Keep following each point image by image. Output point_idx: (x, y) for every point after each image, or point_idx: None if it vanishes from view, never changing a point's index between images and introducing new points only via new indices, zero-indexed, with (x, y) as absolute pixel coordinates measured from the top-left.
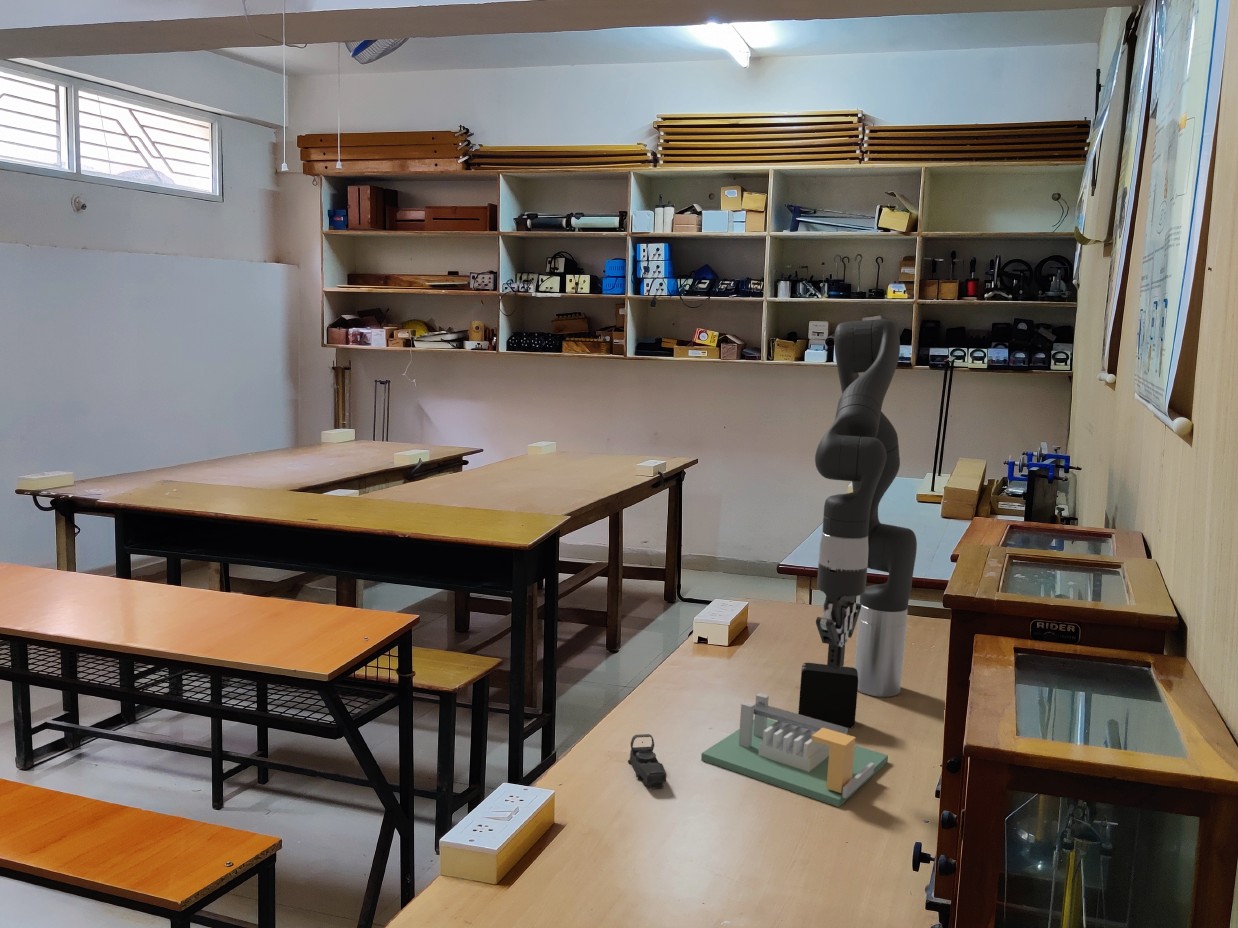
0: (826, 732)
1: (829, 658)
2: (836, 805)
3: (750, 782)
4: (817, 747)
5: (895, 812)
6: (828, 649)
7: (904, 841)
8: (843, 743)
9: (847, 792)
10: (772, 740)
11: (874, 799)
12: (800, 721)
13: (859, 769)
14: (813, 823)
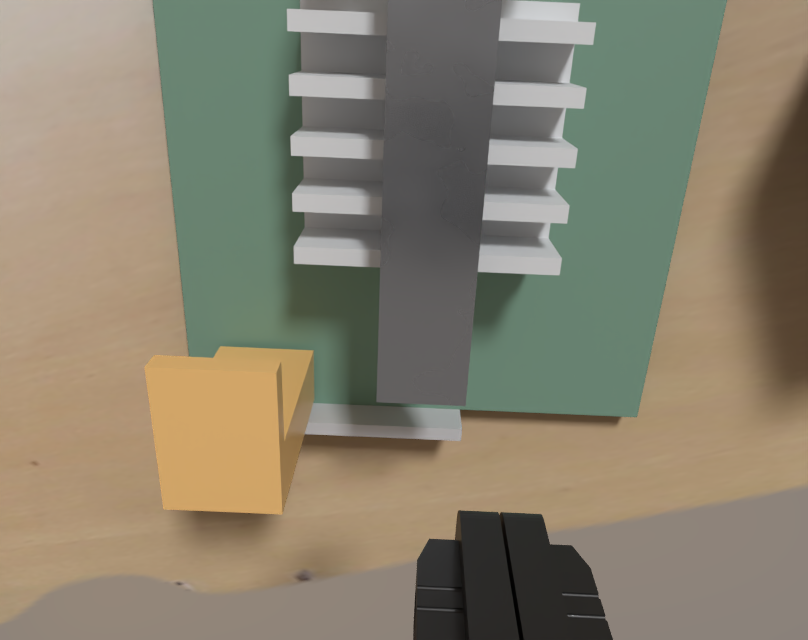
0: (234, 405)
1: (417, 594)
2: None
3: (127, 60)
4: None
5: (293, 511)
6: (468, 633)
7: (159, 564)
8: (178, 498)
9: None
10: (372, 35)
11: (329, 447)
12: (395, 193)
13: None
14: (48, 360)
